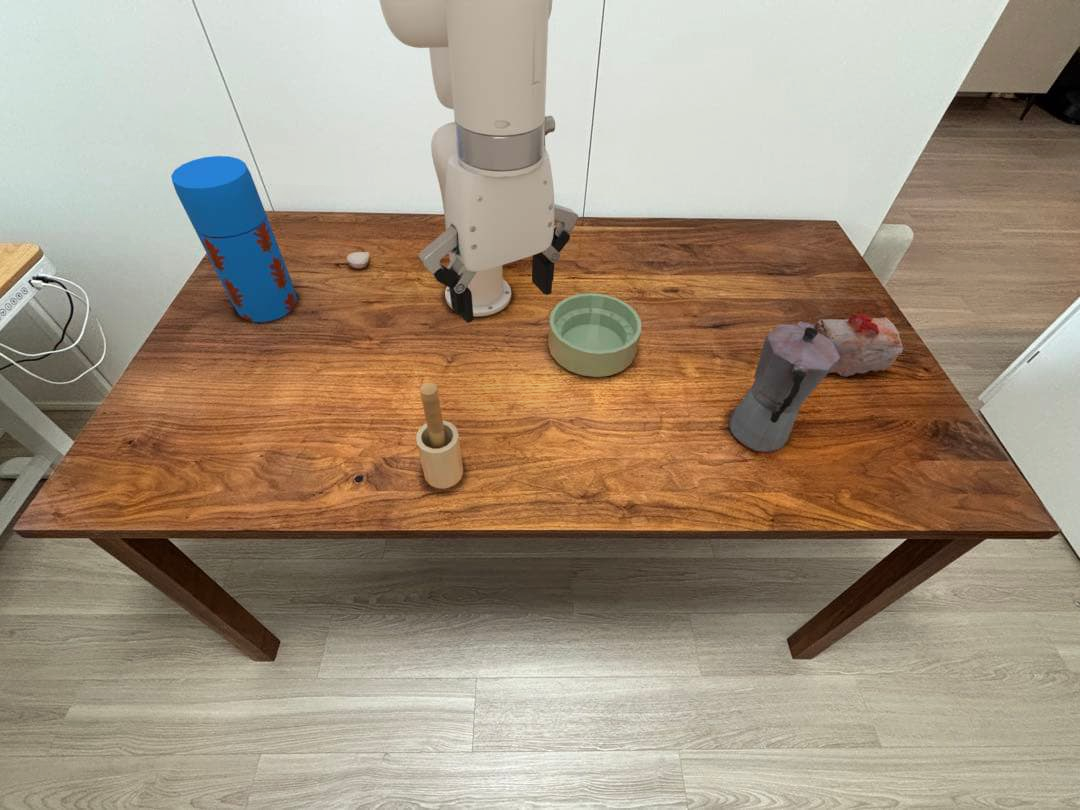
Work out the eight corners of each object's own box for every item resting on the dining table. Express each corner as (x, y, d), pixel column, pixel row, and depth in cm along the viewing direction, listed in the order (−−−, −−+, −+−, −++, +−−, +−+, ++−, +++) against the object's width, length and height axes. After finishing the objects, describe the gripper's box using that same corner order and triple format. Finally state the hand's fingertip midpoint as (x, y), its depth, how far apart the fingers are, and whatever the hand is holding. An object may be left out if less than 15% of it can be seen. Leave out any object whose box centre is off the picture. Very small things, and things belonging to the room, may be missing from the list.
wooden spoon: (433, 467, 76) (416, 383, 63) (446, 462, 77) (432, 377, 64) (440, 482, 75) (424, 399, 62) (454, 476, 75) (440, 393, 62)
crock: (419, 467, 77) (409, 428, 70) (454, 453, 79) (449, 414, 72) (432, 496, 74) (424, 459, 67) (469, 481, 76) (465, 443, 69)
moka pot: (791, 406, 87) (849, 309, 72) (787, 481, 77) (854, 387, 62) (732, 390, 89) (776, 292, 74) (721, 462, 79) (770, 367, 64)
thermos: (223, 313, 97) (152, 179, 78) (263, 280, 104) (208, 150, 85) (271, 329, 95) (211, 195, 76) (310, 295, 102) (263, 164, 83)
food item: (864, 346, 97) (893, 303, 90) (887, 378, 92) (920, 335, 85) (793, 350, 96) (816, 306, 88) (812, 382, 91) (839, 339, 83)
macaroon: (344, 266, 108) (341, 255, 106) (362, 254, 111) (359, 244, 109) (360, 273, 106) (357, 262, 105) (377, 261, 109) (375, 250, 107)
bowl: (533, 334, 96) (533, 308, 92) (604, 310, 102) (608, 284, 97) (576, 390, 88) (580, 364, 83) (652, 361, 93) (659, 335, 88)
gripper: (560, 108, 51) (552, 262, 64) (388, 144, 45) (416, 306, 58) (607, 138, 47) (588, 296, 60) (424, 181, 41) (446, 348, 54)
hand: (504, 301), depth 59 cm, fingers open, 9 cm apart
